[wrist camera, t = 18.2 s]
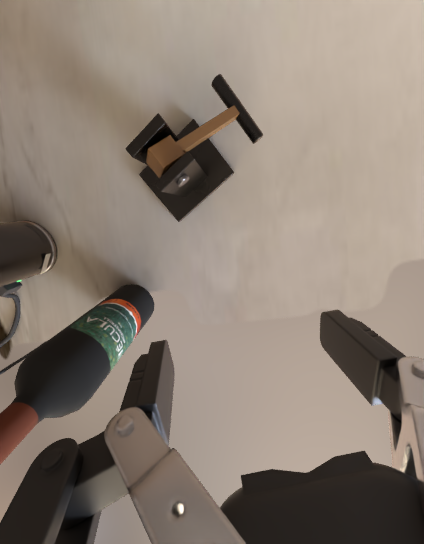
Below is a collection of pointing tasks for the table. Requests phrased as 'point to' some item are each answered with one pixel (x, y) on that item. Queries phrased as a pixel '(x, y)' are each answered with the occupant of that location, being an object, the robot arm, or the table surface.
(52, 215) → the table surface
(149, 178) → the bracket
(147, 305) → the wine bottle
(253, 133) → the lever
